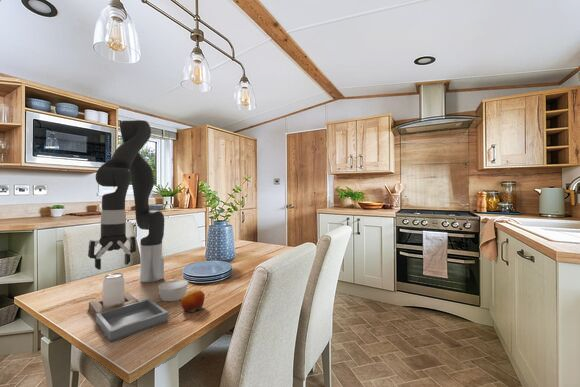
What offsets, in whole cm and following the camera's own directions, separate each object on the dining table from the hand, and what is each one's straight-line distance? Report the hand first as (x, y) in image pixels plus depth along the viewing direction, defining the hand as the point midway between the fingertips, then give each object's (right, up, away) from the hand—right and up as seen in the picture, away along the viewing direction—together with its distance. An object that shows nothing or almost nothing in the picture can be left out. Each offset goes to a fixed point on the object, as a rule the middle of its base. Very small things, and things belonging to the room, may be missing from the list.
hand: (113, 266), depth 94 cm
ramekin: (+17, -16, +11) cm, 26 cm away
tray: (+13, -15, -9) cm, 22 cm away
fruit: (+29, -16, 0) cm, 33 cm away
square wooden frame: (0, -15, 0) cm, 15 cm away
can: (0, -16, 0) cm, 16 cm away
